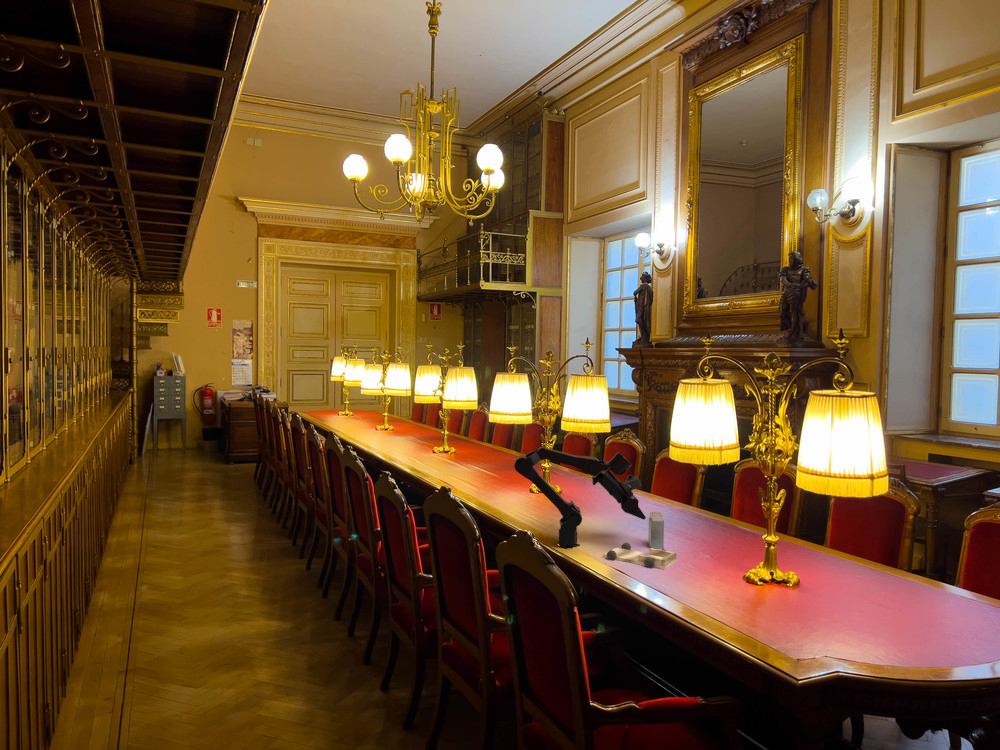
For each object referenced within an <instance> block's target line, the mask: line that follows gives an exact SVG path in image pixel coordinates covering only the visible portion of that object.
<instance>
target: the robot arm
mask: <svg viewBox="0 0 1000 750" xmlns="http://www.w3.org/2000/svg"><path fill="white" fill-rule="evenodd" d="M543 460H548V461H552V462H554V463H559V464H564V465H567V466H570V467H573V468H577V469H579V470H580V471H583V472H584V473H586V474H589V475H591V479H592V480H591V481H592V485H593V486H595V485H596V484H598V483H599V485H600V486H601V487H602V488H603V489H604V490H606V492H608V494H609V495H610V496H611V497H612V498H613V499H615V501H616V502H617V504H620V508H621V510H622V511H623V512H624V513H626V514H629V515H631V516H633V517H637V518H639V519H642V520H646V519H647V517H646V515H645V514H644V513H643V511H642V509H641V508H640V507H639V502H640V501H639V499H638V498H637V497H636V495H634V492H633V490H635V489H637V488H641V487H642V486H643V485H642V482H641V480H640V478H639V477H638V475H633V474H628V475H626V476H627V477H626V480H625V481H622V480H620V479H618V478H617V477H616V476H620V477H622V476H623V475H624V474H625V473H626V472H627V471H628V470H629V469H630V468H631V467H632V466H633V464H632V463H631V462H630V461H629V460H628V459H627V458H626V457H625V456H623V455H622V454H621V453H620V452H619V451H617V452H616V453H615V454H614V455H613V456H612V457H611V458H610V460H609V461H608V460H607V461H606V460H602V459H601V460H600V459H599V458H597V457H596V456H589V455H588V456H587V455H574V454H571V453H567V452H563V451H559V450H557V449H551V448H548V447H546V446H540V447H538V448H537V449H535V450H533V451H530V452H528V454H527V453H526V454H525V455H524V454H523V455H522V454H521V455H518V456H517V457H516V459H515V460H514V470H515V471H516V472H517V473H518V474H519V475H521V476H522V477H524V478H525V479H527V480H528V481H530V482H531V483H533V485H534V486H535V487H536V488H537V489H538V490H539V491H540V492H541V493H542V494H543V495H544V496H545V497H546V498H547V499H548V500H549V502H551V503H552V504H553V506H555V508H556V509H558V512H560V513H559V514H560V515H561V516H562V517H561V518H560V519H559V521H558V522H559V527H560V528H559V529H558V542H557V543H558V544H559V545H560V546H563V547H565V548H564V549H566V548H571V549H573V547H574V548H577V547H580V546H581V544H579V543H578V531H577V530H578V529H577V528H578V526H580V525H581V524H582V521H583V517H582V514H581V509H580V507H579V506H578V505H576V504H575V502H574V501H573V500H570V502H568V501H567V500H565V499H564V497H562V496H561V495H560V494H559V493H558V492H557V491H556V489H554V488H553V486H552V485H550V483H549V482H547V480H546V479H545V478H544V477H543V476H542V475H541V474H540V473H539V472H538V470H537V468H536V466H535V465H537V464H538V463H540V462H541V461H543ZM563 547H562V548H563Z"/></svg>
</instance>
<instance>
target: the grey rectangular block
mask: <svg viewBox="0 0 1000 750" xmlns="http://www.w3.org/2000/svg"><path fill="white" fill-rule="evenodd" d="M664 541H665V520H664V516H663V514H662V513H661V512H660V511H658V512H657V511H650V512H649V517H648V542H647V545H648V547H649V549H650V548H653V549H658V550H662V549H664V548H665V547H664V545H665V542H664ZM664 550H665V549H664Z"/></svg>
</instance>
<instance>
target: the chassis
mask: <svg viewBox="0 0 1000 750" xmlns="http://www.w3.org/2000/svg"><path fill="white" fill-rule="evenodd" d="M631 549H632V546H631V544H630V542H623V543H622V545H621V548H620V547H614V548H612V549H611V550H609V551H606V552H605V553H603V554H602V556H603V558H606V559H608V560H609V561H613V560H615V561H620V562H626V563H631V564H635V565H640V566H645V567H646V568H649V569H650V568H655V569H661V570H667V569H668V568H670V567H671V566H672V565H673V564H675V563H677V552H673V551H668V550H666V549H653V548H650V547H649V550H648V552H649V553H647V552H643V551H638V550H633V549H632V550H631Z"/></svg>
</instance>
